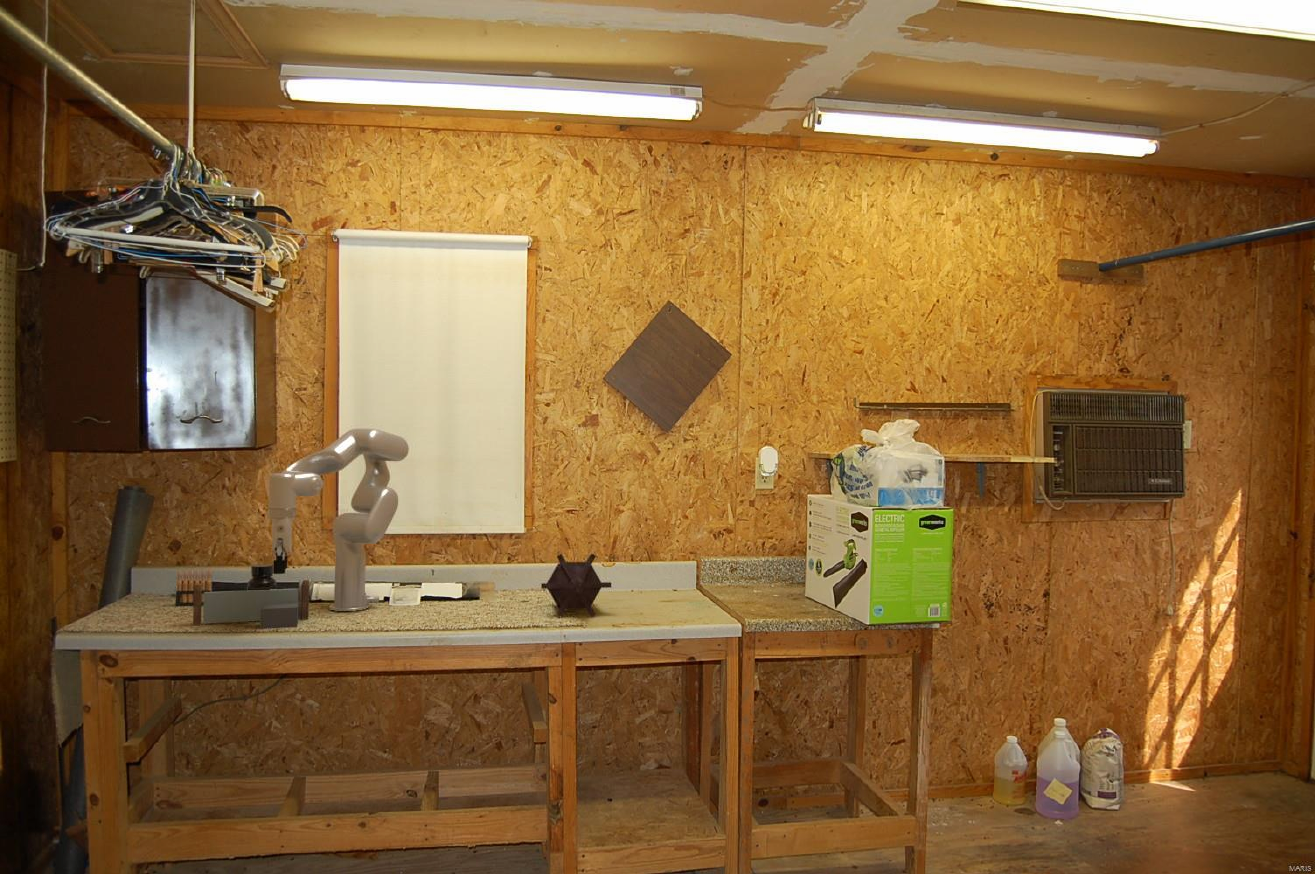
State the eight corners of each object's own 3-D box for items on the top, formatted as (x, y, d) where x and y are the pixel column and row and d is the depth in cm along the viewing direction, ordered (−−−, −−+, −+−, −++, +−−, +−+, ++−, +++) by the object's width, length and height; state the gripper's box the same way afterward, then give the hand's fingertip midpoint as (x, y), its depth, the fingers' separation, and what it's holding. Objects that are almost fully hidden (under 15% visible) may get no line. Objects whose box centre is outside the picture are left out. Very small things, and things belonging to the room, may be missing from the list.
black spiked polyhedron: (599, 617, 294) (613, 622, 265) (533, 613, 290) (540, 618, 261) (604, 556, 298) (618, 554, 269) (539, 551, 293) (547, 548, 265)
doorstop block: (298, 623, 256) (298, 603, 256) (297, 627, 250) (297, 607, 250) (262, 624, 253) (262, 604, 253) (260, 629, 247) (260, 608, 247)
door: (298, 617, 261) (298, 588, 261) (297, 618, 259) (298, 589, 259) (203, 621, 252) (204, 592, 252) (203, 623, 250) (203, 592, 250)
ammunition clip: (175, 606, 275) (175, 569, 275) (176, 605, 277) (177, 569, 277) (211, 605, 278) (211, 569, 278) (212, 604, 280) (213, 568, 280)
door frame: (308, 617, 262) (309, 579, 262) (308, 619, 260) (309, 580, 260) (194, 623, 251) (195, 583, 251) (193, 625, 249) (193, 585, 249)
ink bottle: (277, 601, 286) (278, 566, 286) (248, 603, 282) (249, 568, 282) (273, 596, 295) (274, 562, 295) (245, 598, 290) (246, 564, 290)
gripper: (294, 516, 245) (292, 575, 245) (296, 511, 261) (295, 566, 261) (265, 516, 242) (264, 576, 242) (270, 511, 258) (268, 567, 258)
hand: (280, 571), depth 251 cm, fingers open, 9 cm apart
